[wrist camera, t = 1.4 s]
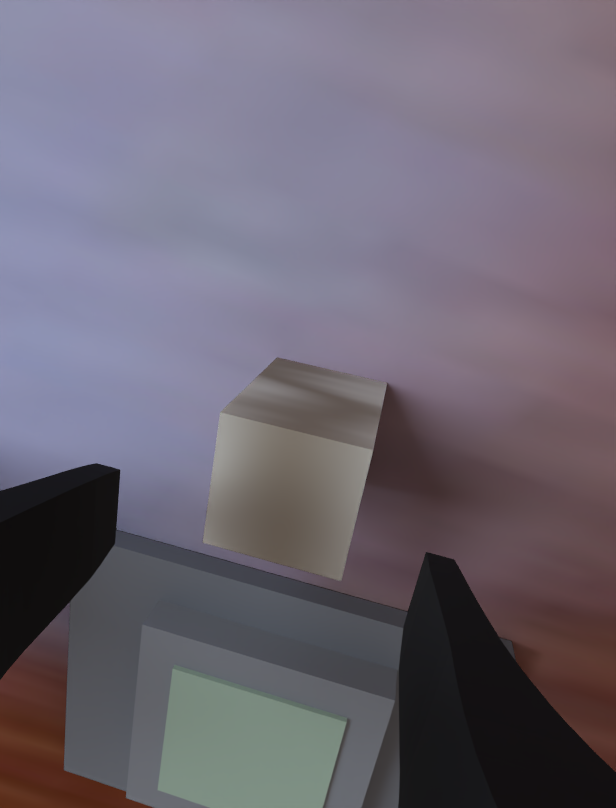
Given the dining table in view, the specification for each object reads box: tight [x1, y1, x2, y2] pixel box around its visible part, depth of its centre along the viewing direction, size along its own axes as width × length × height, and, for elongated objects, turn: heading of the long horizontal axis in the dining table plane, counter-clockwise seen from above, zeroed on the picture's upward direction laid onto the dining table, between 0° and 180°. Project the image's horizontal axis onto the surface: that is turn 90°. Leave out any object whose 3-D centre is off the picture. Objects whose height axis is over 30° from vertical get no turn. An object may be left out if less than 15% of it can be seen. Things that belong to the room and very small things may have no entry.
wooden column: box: [203, 358, 387, 581], centre depth 17 cm, size 4×4×6 cm
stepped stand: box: [64, 530, 516, 808], centre depth 24 cm, size 18×14×3 cm
